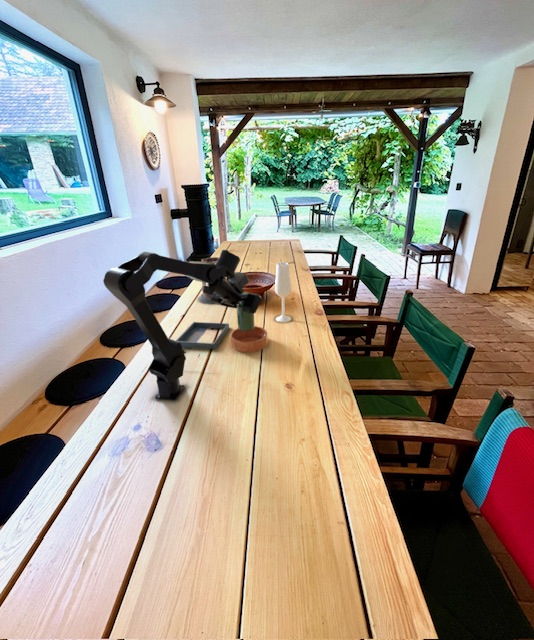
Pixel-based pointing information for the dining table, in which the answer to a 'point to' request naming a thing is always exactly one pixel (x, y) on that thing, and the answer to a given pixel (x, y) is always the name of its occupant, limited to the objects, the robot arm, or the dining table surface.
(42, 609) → the dining table surface
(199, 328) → the tray
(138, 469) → the dining table surface
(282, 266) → the champagne flute
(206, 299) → the tankard
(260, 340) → the bowl
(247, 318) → the bottle
